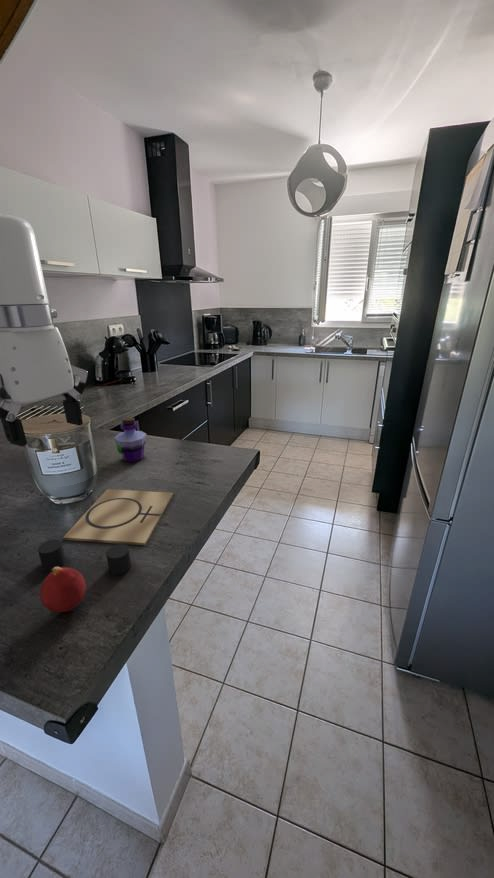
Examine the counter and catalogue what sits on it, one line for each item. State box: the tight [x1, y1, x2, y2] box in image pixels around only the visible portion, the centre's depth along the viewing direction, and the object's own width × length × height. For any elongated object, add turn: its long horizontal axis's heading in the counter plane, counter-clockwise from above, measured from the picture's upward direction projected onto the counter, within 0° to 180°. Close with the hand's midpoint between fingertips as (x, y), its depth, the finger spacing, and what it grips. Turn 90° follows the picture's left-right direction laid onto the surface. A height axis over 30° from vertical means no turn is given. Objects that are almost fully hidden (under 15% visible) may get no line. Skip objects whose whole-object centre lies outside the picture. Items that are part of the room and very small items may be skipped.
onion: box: [39, 566, 87, 614], centre depth 51 cm, size 6×6×8 cm
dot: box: [37, 538, 67, 571], centre depth 61 cm, size 4×4×4 cm
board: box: [62, 488, 174, 546], centre depth 75 cm, size 16×18×1 cm
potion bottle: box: [113, 416, 148, 464], centre depth 98 cm, size 9×9×12 cm
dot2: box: [105, 544, 133, 576], centre depth 60 cm, size 4×4×4 cm
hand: (48, 433), depth 56 cm, fingers open, 9 cm apart
